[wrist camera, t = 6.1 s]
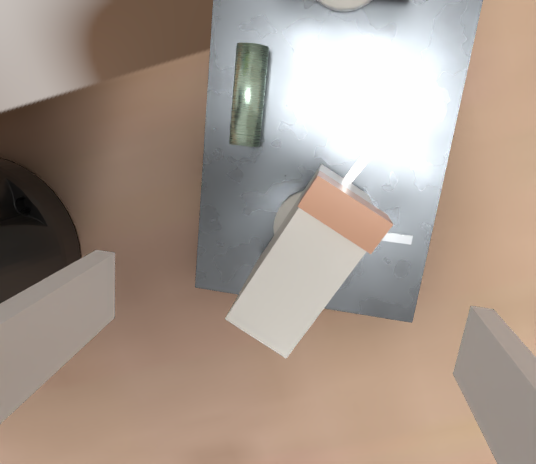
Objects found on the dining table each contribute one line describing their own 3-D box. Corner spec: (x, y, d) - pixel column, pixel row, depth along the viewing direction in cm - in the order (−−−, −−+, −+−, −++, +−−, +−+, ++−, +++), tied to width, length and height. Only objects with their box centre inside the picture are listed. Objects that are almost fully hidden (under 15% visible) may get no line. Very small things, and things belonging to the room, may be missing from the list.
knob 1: (309, 289, 30) (297, 372, 20) (251, 251, 30) (210, 315, 20) (379, 192, 28) (405, 232, 18) (316, 151, 28) (306, 167, 18)
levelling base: (203, 277, 33) (186, 298, 30) (231, -141, 26) (213, -187, 22) (407, 310, 31) (417, 336, 28) (501, -131, 24) (533, -179, 20)
